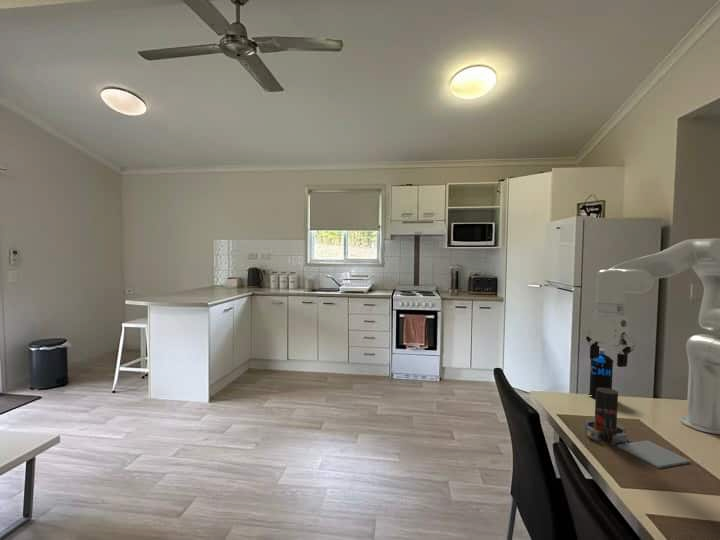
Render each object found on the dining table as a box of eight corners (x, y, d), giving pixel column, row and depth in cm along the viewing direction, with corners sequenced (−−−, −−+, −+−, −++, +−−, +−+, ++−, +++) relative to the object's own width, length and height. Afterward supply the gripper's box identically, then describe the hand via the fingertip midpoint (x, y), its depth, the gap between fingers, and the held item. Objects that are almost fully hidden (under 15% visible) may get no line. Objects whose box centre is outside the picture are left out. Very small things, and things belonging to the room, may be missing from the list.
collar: (605, 427, 127) (605, 418, 127) (636, 442, 117) (637, 433, 117) (574, 431, 124) (575, 422, 124) (604, 447, 113) (604, 437, 113)
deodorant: (619, 442, 117) (621, 394, 116) (598, 440, 118) (600, 393, 117) (610, 433, 123) (612, 388, 122) (591, 431, 124) (592, 386, 123)
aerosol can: (590, 392, 161) (592, 346, 160) (613, 397, 155) (615, 349, 155) (587, 397, 154) (588, 349, 154) (610, 402, 149) (613, 353, 148)
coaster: (647, 442, 117) (647, 440, 117) (690, 462, 106) (690, 460, 106) (617, 446, 114) (617, 444, 114) (657, 468, 102) (657, 466, 102)
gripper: (646, 312, 111) (643, 369, 112) (595, 304, 128) (593, 354, 129) (626, 312, 109) (624, 371, 110) (577, 305, 126) (575, 355, 127)
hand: (607, 362), depth 119 cm, fingers open, 9 cm apart
